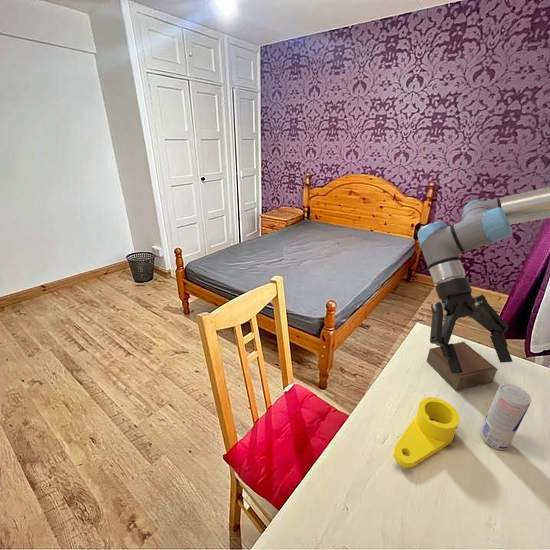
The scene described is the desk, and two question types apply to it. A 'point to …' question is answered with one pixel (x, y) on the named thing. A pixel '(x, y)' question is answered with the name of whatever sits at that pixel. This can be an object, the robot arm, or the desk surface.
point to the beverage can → (505, 416)
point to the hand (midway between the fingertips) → (482, 367)
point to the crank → (427, 432)
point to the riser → (463, 367)
